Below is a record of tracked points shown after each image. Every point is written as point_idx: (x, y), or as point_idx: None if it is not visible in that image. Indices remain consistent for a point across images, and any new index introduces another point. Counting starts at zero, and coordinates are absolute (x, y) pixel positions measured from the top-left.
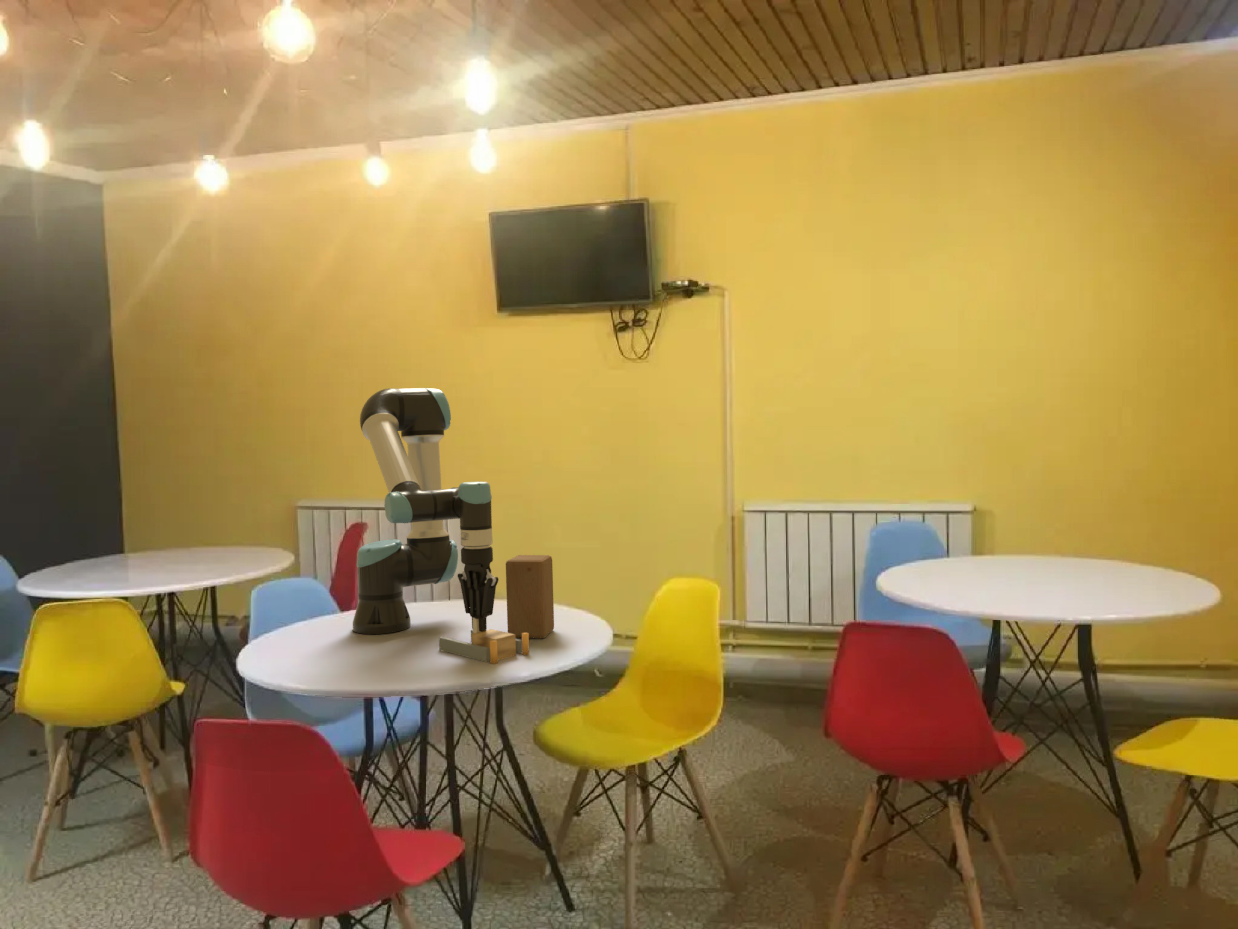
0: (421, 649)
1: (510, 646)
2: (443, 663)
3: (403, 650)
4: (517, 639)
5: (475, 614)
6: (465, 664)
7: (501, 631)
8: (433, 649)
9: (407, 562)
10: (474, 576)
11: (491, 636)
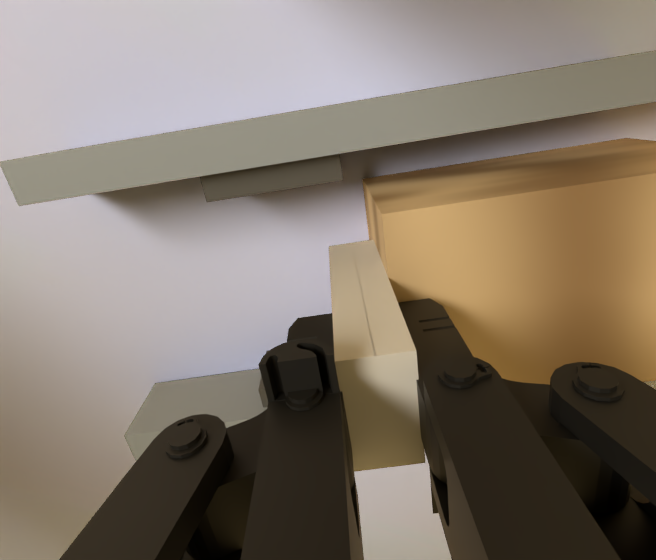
0: (94, 456)
1: None
2: (421, 484)
3: (66, 512)
4: (641, 65)
5: (352, 467)
6: None
7: (555, 193)
8: (130, 419)
9: None
10: None
11: (619, 351)
